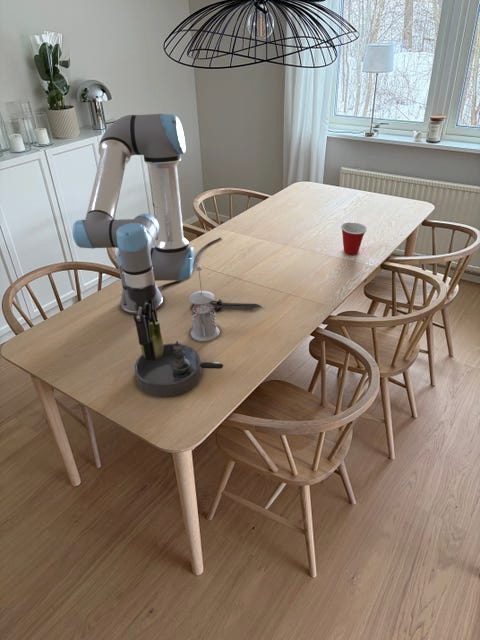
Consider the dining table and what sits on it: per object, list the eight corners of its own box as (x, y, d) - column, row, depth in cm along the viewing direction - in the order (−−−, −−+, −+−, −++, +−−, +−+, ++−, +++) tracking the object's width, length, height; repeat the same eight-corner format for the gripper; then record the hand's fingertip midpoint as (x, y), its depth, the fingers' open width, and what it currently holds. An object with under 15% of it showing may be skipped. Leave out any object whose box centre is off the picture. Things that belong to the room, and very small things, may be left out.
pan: (145, 354, 150) (143, 343, 147) (205, 355, 148) (204, 343, 146) (129, 396, 134) (126, 384, 131) (196, 397, 132) (195, 385, 130)
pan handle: (199, 369, 138) (199, 364, 137) (200, 365, 139) (200, 360, 138) (223, 369, 137) (222, 365, 136) (223, 366, 139) (223, 361, 138)
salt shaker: (174, 366, 143) (169, 334, 136) (193, 367, 142) (189, 335, 136) (169, 379, 138) (164, 346, 131) (189, 380, 137) (185, 347, 131)
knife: (262, 306, 171) (262, 302, 170) (259, 315, 166) (259, 312, 165) (196, 300, 176) (195, 297, 175) (191, 309, 170) (190, 306, 170)
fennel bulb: (166, 353, 139) (160, 320, 132) (159, 364, 135) (154, 329, 128) (148, 351, 140) (141, 317, 133) (141, 361, 136) (134, 327, 129)
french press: (220, 323, 162) (215, 258, 148) (218, 344, 153) (213, 276, 139) (191, 324, 163) (184, 259, 149) (188, 344, 153) (180, 277, 139)
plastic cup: (359, 260, 197) (362, 233, 191) (334, 255, 202) (336, 228, 196) (367, 250, 205) (371, 224, 198) (344, 245, 210) (346, 220, 203)
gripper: (135, 267, 131) (147, 335, 144) (116, 300, 117) (132, 373, 129) (161, 267, 131) (171, 335, 144) (146, 300, 116) (159, 373, 129)
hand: (153, 353), depth 137 cm, fingers closed on fennel bulb, 5 cm apart
